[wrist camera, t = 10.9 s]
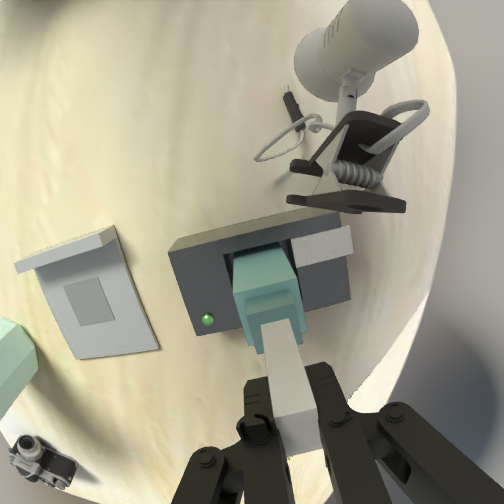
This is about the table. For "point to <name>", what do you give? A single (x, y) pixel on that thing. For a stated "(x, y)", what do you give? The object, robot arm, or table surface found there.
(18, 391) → the water bottle
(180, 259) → the port
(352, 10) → the clip-on lamp
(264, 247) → the plug
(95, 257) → the grey lipped plate
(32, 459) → the camera
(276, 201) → the table surface
